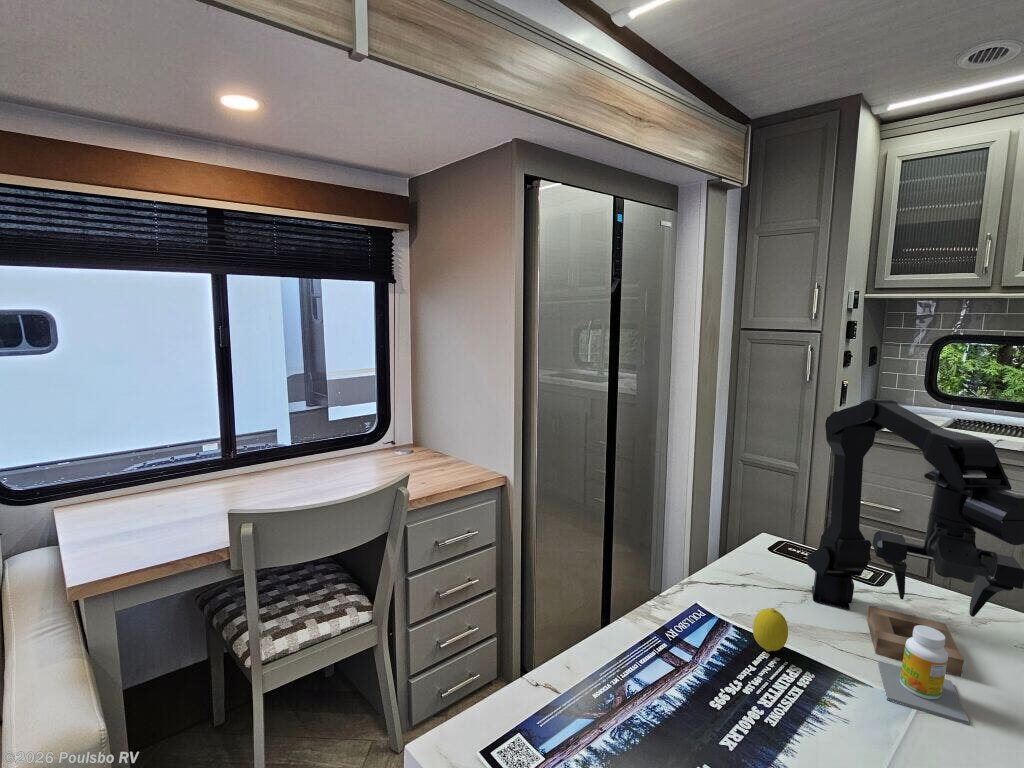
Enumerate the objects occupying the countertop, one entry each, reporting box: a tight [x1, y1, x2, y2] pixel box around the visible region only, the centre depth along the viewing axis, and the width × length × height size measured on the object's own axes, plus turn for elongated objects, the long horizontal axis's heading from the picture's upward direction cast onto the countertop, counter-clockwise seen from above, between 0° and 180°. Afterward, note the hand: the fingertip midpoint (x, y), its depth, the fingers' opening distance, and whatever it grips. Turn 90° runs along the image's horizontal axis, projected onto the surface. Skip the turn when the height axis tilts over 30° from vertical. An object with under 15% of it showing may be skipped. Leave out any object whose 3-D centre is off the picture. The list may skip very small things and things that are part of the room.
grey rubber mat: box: [877, 660, 970, 725], centre depth 87 cm, size 10×10×1 cm
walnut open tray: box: [866, 605, 965, 677], centre depth 98 cm, size 12×12×3 cm
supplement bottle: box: [900, 625, 948, 699], centre depth 86 cm, size 5×5×10 cm
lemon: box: [752, 607, 789, 653], centre depth 95 cm, size 6×6×8 cm
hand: (935, 606), depth 88 cm, fingers open, 9 cm apart
